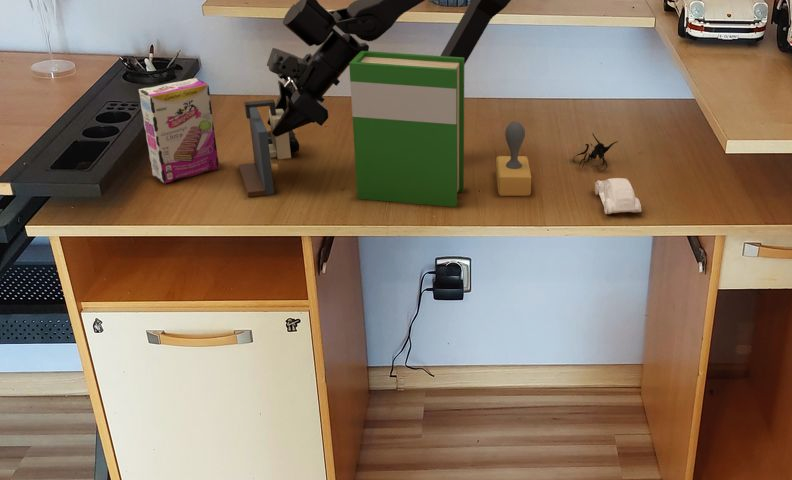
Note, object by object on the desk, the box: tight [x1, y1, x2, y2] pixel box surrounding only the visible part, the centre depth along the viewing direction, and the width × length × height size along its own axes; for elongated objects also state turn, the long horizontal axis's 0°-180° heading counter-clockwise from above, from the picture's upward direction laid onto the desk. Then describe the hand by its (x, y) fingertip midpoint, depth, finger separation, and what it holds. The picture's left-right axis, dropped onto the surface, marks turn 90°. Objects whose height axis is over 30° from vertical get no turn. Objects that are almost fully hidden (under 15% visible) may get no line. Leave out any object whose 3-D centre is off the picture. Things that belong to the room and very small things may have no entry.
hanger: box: [243, 99, 292, 160], centre depth 160 cm, size 7×5×10 cm
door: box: [237, 107, 279, 198], centre depth 161 cm, size 6×13×12 cm, turn 21°
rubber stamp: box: [495, 121, 532, 197], centre depth 162 cm, size 10×6×12 cm, turn 3°
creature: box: [572, 132, 619, 172], centre depth 174 cm, size 8×5×8 cm
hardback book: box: [348, 50, 465, 208], centre depth 155 cm, size 18×7×24 cm, turn 82°
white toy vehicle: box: [594, 177, 642, 215], centre depth 159 cm, size 12×6×5 cm, turn 9°
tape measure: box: [267, 130, 300, 154], centre depth 175 cm, size 7×7×4 cm
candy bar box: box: [137, 77, 220, 184], centre depth 162 cm, size 11×5×16 cm, turn 135°
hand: (271, 129), depth 160 cm, fingers closed on hanger, 5 cm apart
